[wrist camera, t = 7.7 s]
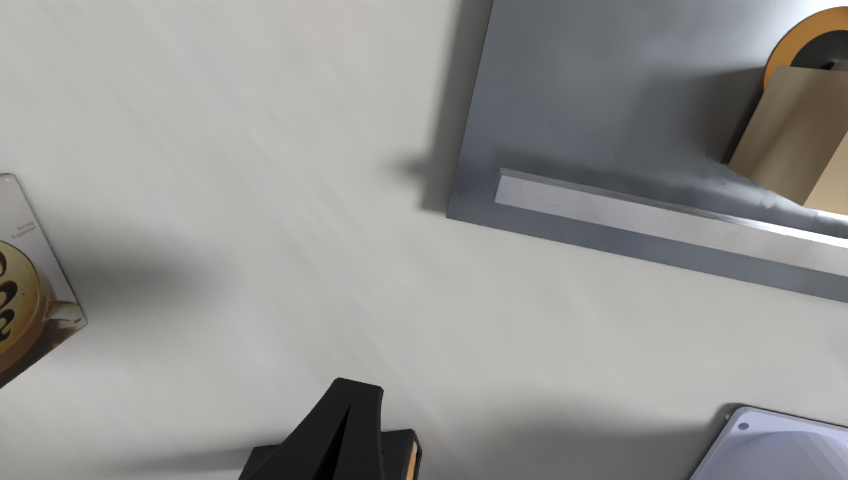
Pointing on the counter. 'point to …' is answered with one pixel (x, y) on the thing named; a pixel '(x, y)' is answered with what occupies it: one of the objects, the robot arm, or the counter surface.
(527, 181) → the trammel beam
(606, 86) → the bolt plate
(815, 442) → the robot arm
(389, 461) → the ammunition clip
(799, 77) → the trammel slider
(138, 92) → the counter surface
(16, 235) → the coffee box
